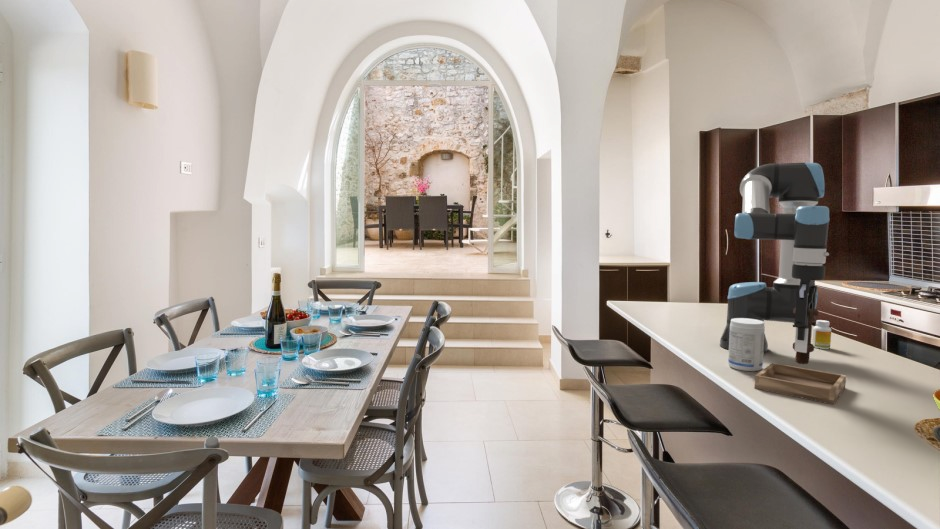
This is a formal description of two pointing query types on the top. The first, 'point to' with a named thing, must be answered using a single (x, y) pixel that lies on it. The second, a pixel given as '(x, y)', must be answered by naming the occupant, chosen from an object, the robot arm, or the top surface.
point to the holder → (801, 382)
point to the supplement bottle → (822, 335)
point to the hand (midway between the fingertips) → (802, 349)
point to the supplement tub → (746, 344)
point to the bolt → (804, 357)
